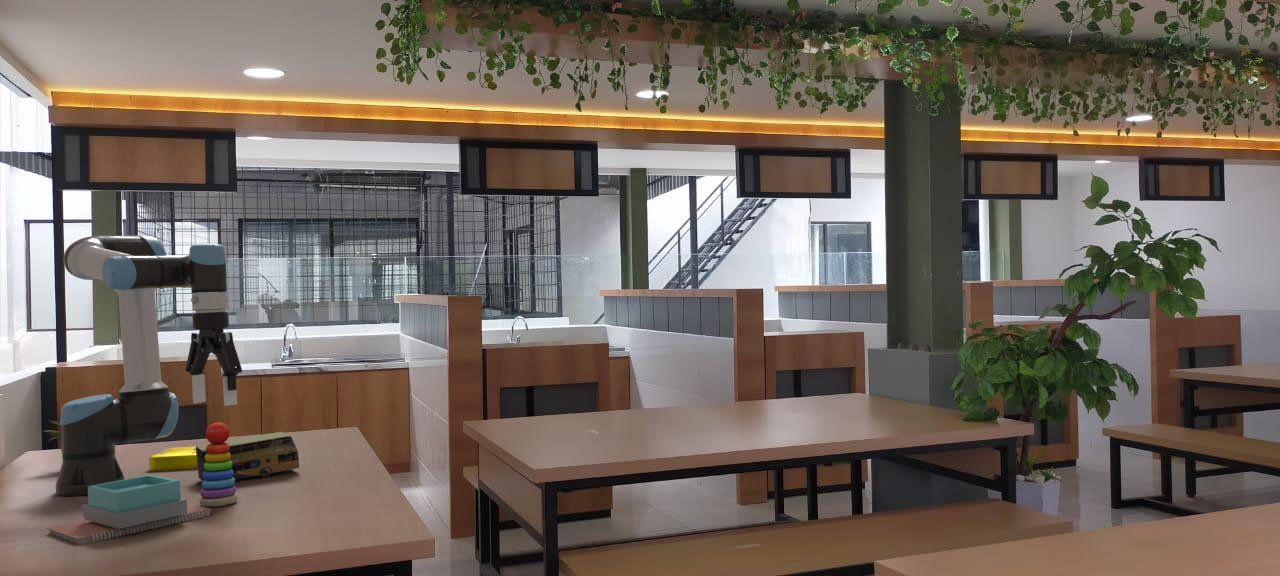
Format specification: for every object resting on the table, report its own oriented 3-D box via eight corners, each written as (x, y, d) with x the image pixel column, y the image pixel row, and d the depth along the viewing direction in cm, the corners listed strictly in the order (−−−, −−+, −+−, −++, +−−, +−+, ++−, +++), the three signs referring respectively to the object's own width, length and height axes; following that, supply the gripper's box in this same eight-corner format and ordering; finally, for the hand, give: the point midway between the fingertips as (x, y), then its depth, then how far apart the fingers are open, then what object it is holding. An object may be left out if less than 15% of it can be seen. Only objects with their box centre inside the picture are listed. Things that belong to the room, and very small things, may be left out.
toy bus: (300, 472, 252) (296, 434, 252) (205, 489, 239) (201, 450, 239) (290, 466, 260) (287, 430, 260) (198, 483, 248) (195, 445, 247)
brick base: (83, 519, 201) (82, 486, 201) (150, 504, 212) (149, 473, 212) (118, 529, 191) (117, 494, 191) (187, 513, 202) (185, 480, 202)
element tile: (168, 462, 278) (167, 446, 278) (221, 459, 280) (220, 443, 280) (147, 472, 263) (146, 455, 263) (203, 469, 265) (202, 452, 265)
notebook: (80, 548, 187) (79, 538, 187) (46, 536, 198) (46, 526, 198) (214, 517, 208) (214, 508, 208) (178, 507, 219) (177, 499, 219)
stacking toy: (223, 508, 214) (219, 425, 214) (192, 508, 216) (188, 425, 216) (244, 500, 222) (241, 420, 222) (214, 499, 224) (210, 420, 224)
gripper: (167, 313, 223) (171, 403, 223) (223, 311, 208) (228, 408, 208) (198, 311, 229) (202, 399, 229) (255, 309, 214) (259, 403, 214)
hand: (214, 403), depth 219 cm, fingers open, 13 cm apart
